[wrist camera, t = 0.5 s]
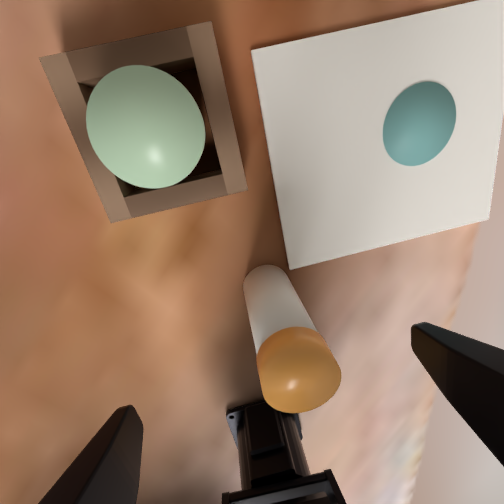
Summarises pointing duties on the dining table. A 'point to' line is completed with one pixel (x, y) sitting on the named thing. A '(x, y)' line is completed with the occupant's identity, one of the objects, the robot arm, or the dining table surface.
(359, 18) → the dining table surface
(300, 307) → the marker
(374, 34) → the paper
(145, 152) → the button
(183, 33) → the button housing
